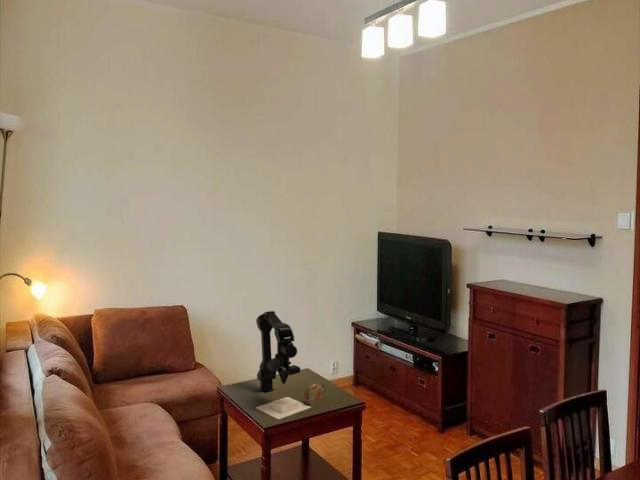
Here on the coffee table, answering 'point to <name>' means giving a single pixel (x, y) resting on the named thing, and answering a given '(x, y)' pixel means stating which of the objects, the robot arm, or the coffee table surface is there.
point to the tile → (285, 405)
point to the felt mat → (268, 409)
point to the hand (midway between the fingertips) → (283, 383)
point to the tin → (314, 393)
